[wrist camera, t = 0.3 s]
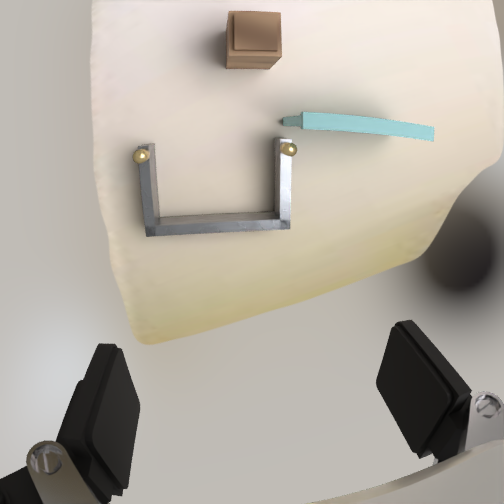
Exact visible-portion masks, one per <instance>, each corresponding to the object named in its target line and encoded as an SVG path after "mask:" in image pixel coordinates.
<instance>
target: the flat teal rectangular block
mask: <svg viewBox="0 0 504 504" xmlns="http://www.w3.org/2000/svg"><path fill="white" fill-rule="evenodd" d="M283 126H301V129H317V130H335V131H350V132H362V133H372V134H382V135H391V136H399V137H407V138H414V139H421V140H428V141H434V127H431V126H425V125H419V124H414V123H407V122H401V121H394V120H387V119H380V118H371V117H363V116H353V115H342V114H330V113H315V112H301V115H300V116H292V117H284V118H283Z"/></svg>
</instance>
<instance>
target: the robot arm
mask: <svg viewBox="0 0 504 504" xmlns="http://www.w3.org/2000/svg"><path fill="white" fill-rule="evenodd" d="M376 385H377V388H378V390H379V392H380V394H381V395H382V397H383V399H384V401H385V403H386V405H387V406H388V408H389V410H390V412H391V414H392V415H393V417H394V419H395V421H396V422H397V425H398V426H399V428H400V430H401V432H402V434H403V436H404V437H405V439H406V441H407V443H408V445H409V447H410V449H411V450H412V452H414V453H417V455H418V457H419V459H421V458H423V457H426V456H428V455H430V454H432V453H433V455H434V457H435V459H434V462H433V466H431V467H428V468H426V469H423V470H421V471H418V472H416V473H413V474H411V475H408V476H405V477H402V478H400V479H397V480H394V481H391V482H388V483H386V484H382V485H379V486H376V487H373V488H369V489H366V490H362V491H359V492H355V493H352V494H348V495H344V496H340V497H335V498H332V499H327V500H322V501H318V502H312V503H307V504H504V404H503V402H502V401H501V399H500V398H499V397H498V396H496V395H495V394H493V393H490V392H484V391H483V392H478V393H477V394H475V395H474V396H473V397H472V396H471V395H470V393H471V391H472V390H471V389H470V388H469V386H468V385H467V384H466V383H465V381H464V380H463V379H462V378H461V377H460V375H459V374H458V373H457V372H456V370H455V369H454V368H453V367H452V366H451V365H450V363H449V362H448V361H447V360H446V358H445V357H444V356H443V355H442V354H441V352H440V351H439V350H438V349H437V348H436V347H435V345H434V344H433V343H432V342H431V341H430V340H429V339H428V337H427V336H426V335H425V334H424V333H423V332H422V331H421V329H420V328H419V327H418V326H417V325H416V324H415V323H414V322H413V321H412V320H406V321H400V322H397V323H396V324H395V326H394V327H392V328H391V332H390V335H389V339H388V343H387V346H386V349H385V353H384V356H383V360H382V363H381V366H380V369H379V373H378V376H377V379H376ZM139 413H140V402H139V399H138V396H137V393H136V390H135V388H134V385H133V382H132V379H131V376H130V373H129V370H128V367H127V364H126V361H125V358H124V354H123V351H122V349H121V348H117V346H116V345H115V344H98V346H97V348H96V350H95V353H94V355H93V357H92V360H91V362H90V364H89V367H88V369H87V372H86V374H85V377H84V379H83V380H80V381H79V382H78V384H77V386H76V388H75V391H74V393H73V396H72V398H71V401H70V403H69V406H68V409H67V411H66V414H65V417H64V419H63V422H62V425H61V428H60V430H59V433H58V436H57V439H56V442H54V441H42V442H39V443H37V444H35V445H34V446H33V447H32V448H31V449H30V450H29V452H28V454H27V459H26V463H27V466H25V467H24V468H21V469H20V470H18V471H16V472H14V473H12V474H10V475H8V476H6V477H4V478H1V479H0V504H110V503H109V502H110V501H111V496H112V495H117V496H122V494H123V489H127V488H128V484H129V477H130V469H131V462H132V456H133V449H134V443H135V437H136V431H137V424H138V419H139Z"/></svg>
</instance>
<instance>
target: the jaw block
mask: <svg viewBox="0 0 504 504" xmlns="http://www.w3.org/2000/svg"><path fill="white" fill-rule="evenodd" d="M281 57H282V44H281V13H279V12H261V11H229V13H228V20H227V28H226V69H270V68H271V67H272V66H273V65H274V64H275V63H276V62H277V61H278V60H279V59H280V58H281Z"/></svg>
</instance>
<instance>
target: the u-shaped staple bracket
mask: <svg viewBox="0 0 504 504" xmlns="http://www.w3.org/2000/svg"><path fill="white" fill-rule="evenodd" d="M296 152H297V147H296V145H295V144H293V143H292V139H286V138H275V201H274V212H248V213H226V214H206V215H188V216H172V217H160V211H159V200H158V188H157V175H156V159H155V144H146V145H141V146H138V150H137V151H135V152H134V154H133V160H134V161H135V162H136V163H139V172H140V184H141V195H142V205H143V214H144V223H145V231H146V237H150V236H166V235H183V234H201V233H220V232H240V231H261V230H284V229H290V213H291V156H294V155H295V154H296Z"/></svg>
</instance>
